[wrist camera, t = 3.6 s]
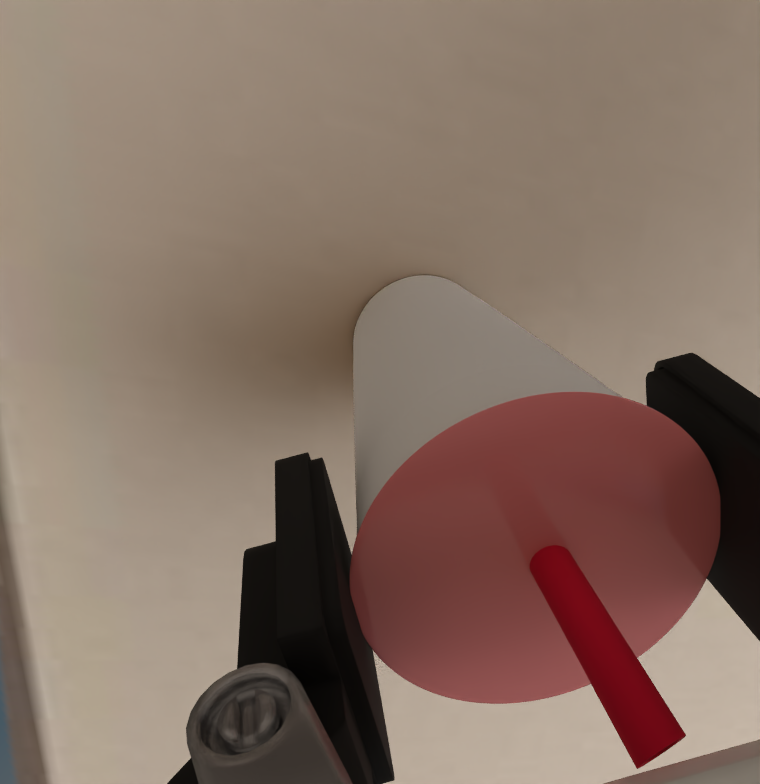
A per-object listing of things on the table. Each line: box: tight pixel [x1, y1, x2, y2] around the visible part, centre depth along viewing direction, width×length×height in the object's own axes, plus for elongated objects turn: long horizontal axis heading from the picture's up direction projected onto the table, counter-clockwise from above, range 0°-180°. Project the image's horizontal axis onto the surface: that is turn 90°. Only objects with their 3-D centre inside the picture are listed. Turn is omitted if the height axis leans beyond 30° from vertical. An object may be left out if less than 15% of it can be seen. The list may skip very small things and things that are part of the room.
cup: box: [350, 275, 720, 769], centre depth 12 cm, size 5×5×12 cm
